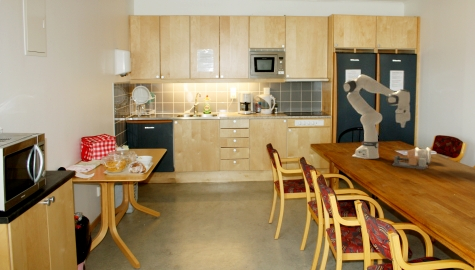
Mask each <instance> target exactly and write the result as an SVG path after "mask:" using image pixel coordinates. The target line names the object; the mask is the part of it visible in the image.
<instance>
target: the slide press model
mask: <svg viewBox="0 0 475 270" xmlns="http://www.w3.org/2000/svg"><path fill="white" fill-rule="evenodd" d="M417 163H418V164H419V165H409V158H407V157H406V158H405V157H400V155H395V156H394V161H393V163H392V166H393V167H401V168H408V169H415V168H416V169H417V170H422V169H423V170H425V169H428V168H429V164H428V165H427V161H426V159H425V158H420V159H417ZM416 169H415V170H416Z"/></svg>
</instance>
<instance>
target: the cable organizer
mask: <svg viewBox="0 0 475 270" xmlns="http://www.w3.org/2000/svg"><path fill="white" fill-rule="evenodd" d="M414 149H415V156H418V157H420V158H425V159H426V163H427V164H428V165H430V164H431V160H432V159H431V155H432V149H431V148H430V147H426V148H425V149H421V148H419V147H418V146H417V147H415V148H414Z"/></svg>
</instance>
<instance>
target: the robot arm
mask: <svg viewBox="0 0 475 270" xmlns="http://www.w3.org/2000/svg"><path fill="white" fill-rule="evenodd" d="M342 88H343V91H344V92H345V93H348V94H347V95H346V98H347V101H348V102H349V104H350V105H351V106H352V108H353V109H354V110H355V111H356V112H357V113H358V114H359V115H361V116H360V119H359V120H360V123H361V124H362V126H363V133H364V137H363V138H364V139H363V141H361V145H360V146H359V147H358V148H356V149H355V152H354V154H352V156H351V157H354V158H358V159H363V160H364V159H365V160H370V159H373V160H374V159H379V158H380V156H379V155H380V154H379V141H378V139H379V137H378V136H379V132H378V130H377V127H376V125H378V124H380V123H381V122H382V120H383V115H382V114H381V113H380V112H378V111H377V110H376V109H374V108H373V107H372V106H370V105H369V103H367V101H366V100H365V99H364V98H363V97H362V96H361V94H360V93H362V91H363V90H364V91H366V92H369V93H371V94H381V95H384V96H386V99H385V100H386V103H387V104H388V105H389V106H397V108H396V110H395V122H396V123H399V124H400V127H401V128H405V127H406V123H407V122H408V121H411V112H410V110H411V105H410V103H411V93H410V91H409V90H407V89H399V90H398V91H395V90H392V89H391V88H389V87H387V86H386V85H384V84H382V83H380V82H379V81H377V80H375V78H372V77H371V76H368V75H366V74H363V73H362V74H360V75H358V77H357V78H352V79H349V80H347V81H345V82H344V83H343V85H342Z"/></svg>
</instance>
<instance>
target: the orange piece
mask: <svg viewBox="0 0 475 270" xmlns="http://www.w3.org/2000/svg"><path fill="white" fill-rule="evenodd" d="M406 155H407V156H406V158H408V159H409V161H408V163H409V165H419V164H418V163H417V159H420V157H418V156H415V148H412V149H409V150H407V154H406Z"/></svg>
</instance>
